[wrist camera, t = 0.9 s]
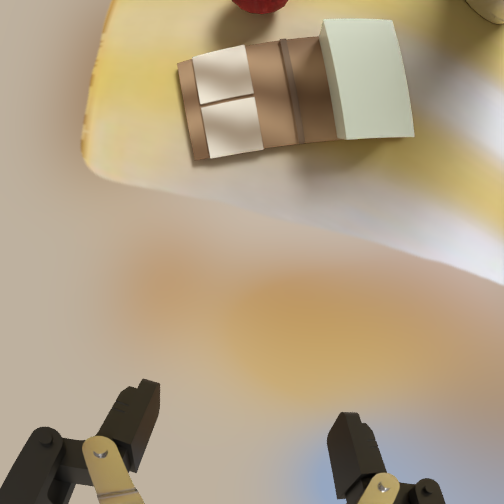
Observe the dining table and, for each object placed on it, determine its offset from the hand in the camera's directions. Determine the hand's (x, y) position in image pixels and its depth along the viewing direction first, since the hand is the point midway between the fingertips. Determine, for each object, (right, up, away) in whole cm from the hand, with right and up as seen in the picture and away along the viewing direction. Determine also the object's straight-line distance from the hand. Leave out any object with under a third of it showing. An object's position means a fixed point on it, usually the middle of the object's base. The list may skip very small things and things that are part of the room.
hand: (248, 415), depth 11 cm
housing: (+10, +23, +12) cm, 28 cm away
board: (+4, +23, +14) cm, 27 cm away
